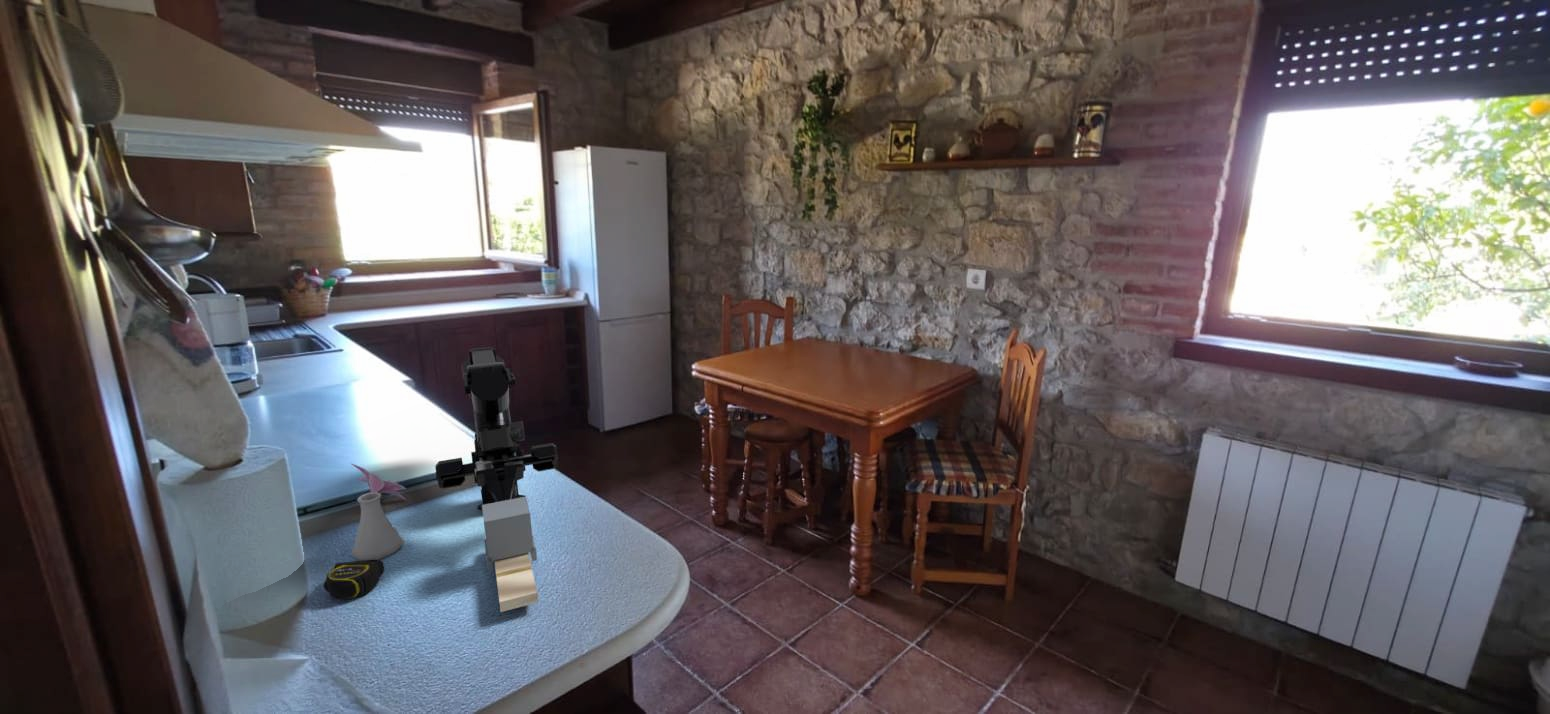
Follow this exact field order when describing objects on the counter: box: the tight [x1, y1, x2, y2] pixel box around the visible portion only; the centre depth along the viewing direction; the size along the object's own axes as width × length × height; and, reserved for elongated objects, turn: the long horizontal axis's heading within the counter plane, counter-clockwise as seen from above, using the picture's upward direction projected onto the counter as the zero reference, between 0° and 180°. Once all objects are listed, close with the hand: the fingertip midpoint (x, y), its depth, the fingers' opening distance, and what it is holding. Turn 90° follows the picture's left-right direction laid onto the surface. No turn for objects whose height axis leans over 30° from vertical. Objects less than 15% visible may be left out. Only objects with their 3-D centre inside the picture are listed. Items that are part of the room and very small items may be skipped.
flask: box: [350, 491, 405, 561], centre depth 106 cm, size 7×7×10 cm
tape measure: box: [323, 559, 385, 600], centre depth 96 cm, size 7×7×4 cm
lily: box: [350, 463, 407, 501], centre depth 121 cm, size 11×11×9 cm
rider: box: [481, 496, 538, 572], centre depth 101 cm, size 6×7×8 cm
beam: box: [493, 552, 539, 613], centre depth 99 cm, size 20×5×3 cm, turn 26°
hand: (505, 512), depth 104 cm, fingers closed
